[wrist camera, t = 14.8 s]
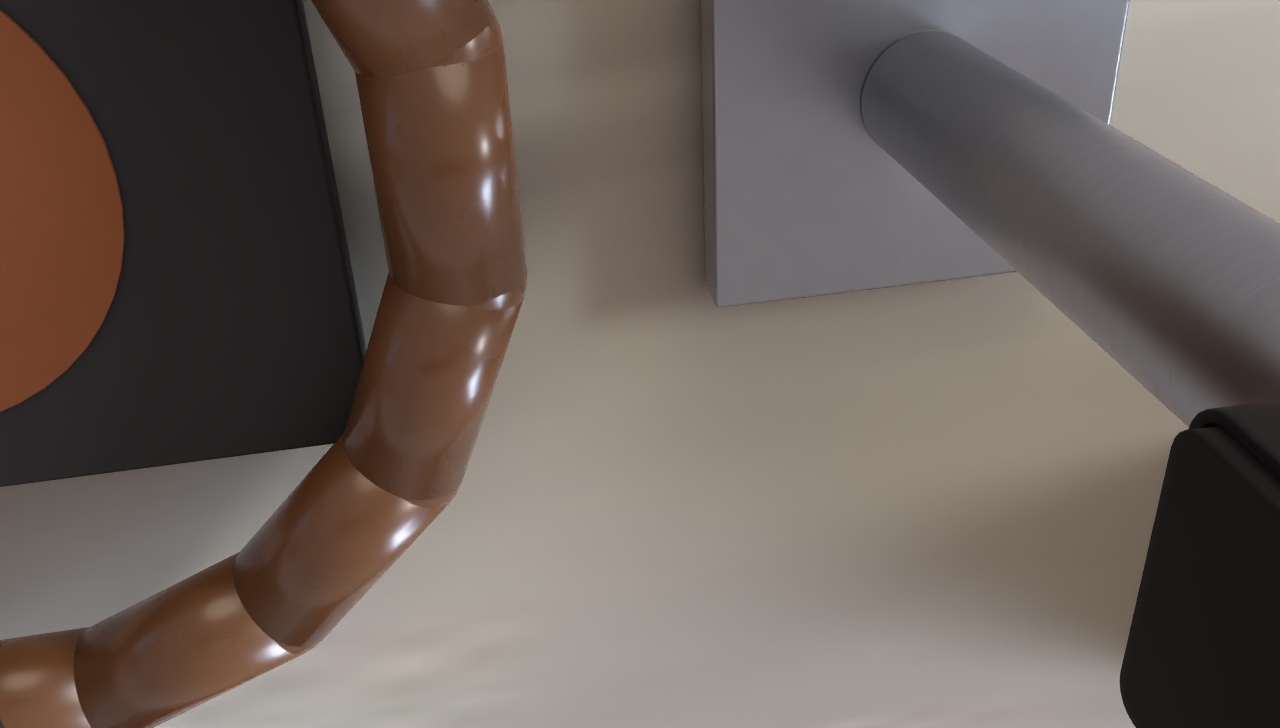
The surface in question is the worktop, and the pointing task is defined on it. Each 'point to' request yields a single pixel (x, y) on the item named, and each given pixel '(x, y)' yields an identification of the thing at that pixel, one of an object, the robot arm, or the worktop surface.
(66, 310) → the burner mat
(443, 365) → the ring
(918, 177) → the hanger
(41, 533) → the worktop surface
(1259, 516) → the robot arm
